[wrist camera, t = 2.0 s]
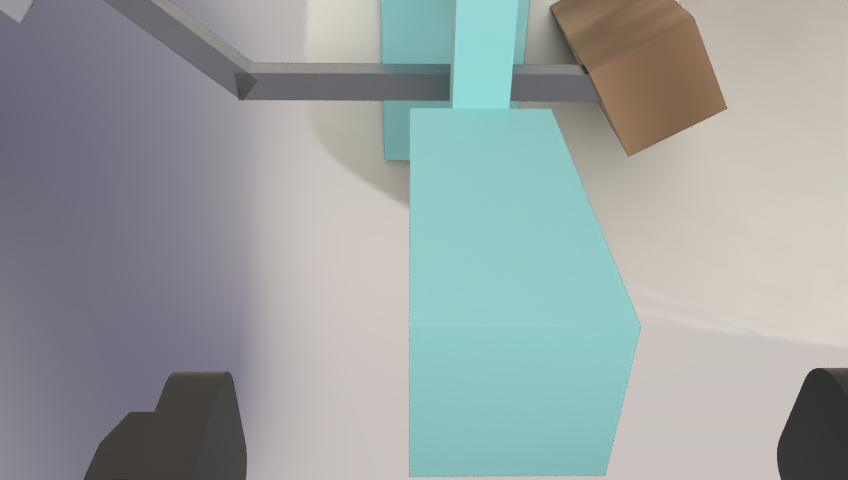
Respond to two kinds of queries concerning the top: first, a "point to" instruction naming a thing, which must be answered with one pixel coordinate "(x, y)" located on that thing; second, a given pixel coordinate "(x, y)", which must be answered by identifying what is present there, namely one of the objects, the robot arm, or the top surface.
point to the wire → (334, 68)
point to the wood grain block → (642, 66)
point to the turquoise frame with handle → (500, 262)
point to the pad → (16, 8)
